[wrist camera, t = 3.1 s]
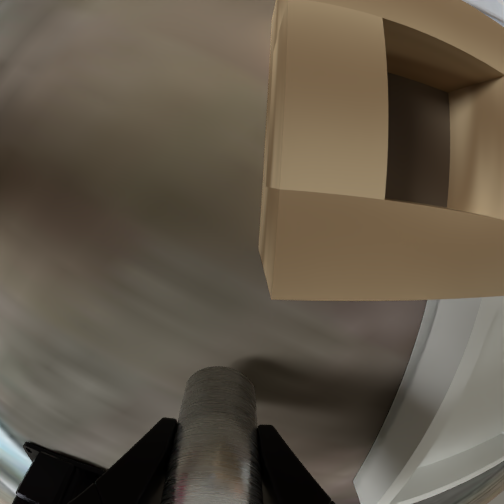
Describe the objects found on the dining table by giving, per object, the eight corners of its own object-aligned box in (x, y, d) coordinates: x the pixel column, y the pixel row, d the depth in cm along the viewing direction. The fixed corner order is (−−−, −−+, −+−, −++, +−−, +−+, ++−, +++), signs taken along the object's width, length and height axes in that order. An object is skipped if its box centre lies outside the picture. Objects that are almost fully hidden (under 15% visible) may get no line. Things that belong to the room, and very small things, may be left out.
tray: (497, 432, 14) (515, 453, 11) (352, 481, 13) (365, 517, 10) (567, 269, 11) (596, 282, 8) (436, 259, 10) (485, 283, 7)
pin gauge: (252, 418, 10) (265, 607, 2) (187, 413, 10) (156, 600, 2) (257, 368, 9) (280, 599, 2) (184, 363, 9) (131, 587, 2)
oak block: (451, 257, 10) (528, 293, 6) (258, 247, 10) (271, 299, 5) (457, 73, 8) (528, 47, 4) (271, 23, 8) (288, -58, 4)
